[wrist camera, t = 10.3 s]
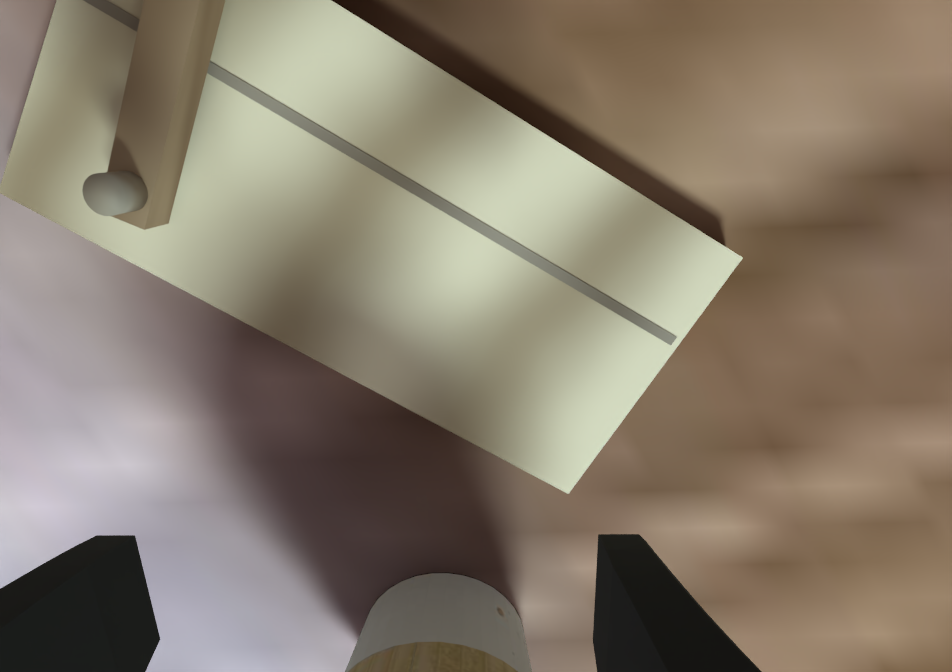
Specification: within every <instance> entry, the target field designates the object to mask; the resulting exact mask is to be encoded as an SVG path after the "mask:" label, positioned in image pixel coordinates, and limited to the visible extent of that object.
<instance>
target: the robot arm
mask: <svg viewBox="0 0 952 672" xmlns="http://www.w3.org/2000/svg"><path fill="white" fill-rule="evenodd" d="M159 640H160V637H159V633H158V629H157V624H156V620H155V616H154V612H153V608H152V604H151V600H150V596H149V592H148V588H147V583H146V579H145V575H144V571H143V567H142V563H141V559H140V555H139V551H138V547H137V542H136V538H135V536H95V537H93V538H91V539H89V540H87V541H85V542H83V543H81V544H79V545H77V546H75V547H73V548H71V549H69V550H68V551H66V552H64V553H62V554H60V555H58V556H57V557H55V558H53V559H51V560H50V561H48V562H46V563H44V564H42V565H41V566H39V567H37V568H35V569H34V570H32V571H30V572H29V573H27V574H25V575H23V576H22V577H20V578H18V579H16V580H15V581H13V582H11V583H10V584H8V585H6V586H4V587H3V588H1V589H0V672H145V671H146V669H147V667H148V664H149V662H150V660H151V658H152V656H153V653H154V651H155V649H156V647H157V645H158V642H159ZM593 644H594V651H595V658H596V665H597V672H761V671H760V670H759V669H758V668H757V667H756V665H755V664H754V663H753V662H752V661H751V660H750V659H749V658H748V657H747V656H746V655H745V654H744V653H743V652H742V651H741V650H740V649H739V648H738V647H737V646H736V644H735V643H734V642H733V641H732V640H731V639H730V638H729V637H728V636H727V635H726V634H725V633H724V631H723V630H722V629H721V628H720V627H719V626H718V625H717V624H716V623H715V622H714V621H713V620H712V618H711V617H710V616H709V615H708V614H707V613H706V612H705V611H704V610H703V608H702V607H701V606H700V605H699V604H698V603H697V602H696V601H695V599H694V598H693V597H692V596H691V595H690V594H689V592H688V591H687V590H686V589H685V588H684V587H683V585H682V584H681V583H680V582H679V581H678V580H677V578H676V577H675V576H674V575H673V574H672V572H671V571H670V570H669V569H668V568H667V566H666V565H665V564H664V563H663V562H662V560H661V559H660V558H659V557H658V556H657V554H656V553H655V552H654V551H653V550H652V548H651V547H650V546H649V545H648V543H647V542H646V541H645V540H644V539H643V538H642V537H641V536H640V535H639V534H610V535H598V554H597V573H596V592H595V611H594V630H593Z"/></svg>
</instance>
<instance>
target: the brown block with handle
mask: <svg viewBox="0 0 952 672" xmlns="http://www.w3.org/2000/svg"><path fill="white" fill-rule="evenodd" d="M224 4H225V0H144V2H143V7H142V12H141V16H140V21H139V26H138V30H137V35H136V40H135V44H134V49H133V54H132V58H131V63H130V68H129V72H128V77H127V82H126V86H125V91H124V96H123V100H122V105H121V110H120V114H119V119H118V124H117V128H116V133H115V138H114V142H113V147H112V152H111V156H110V161H109V166H108V170H107V172H105V173H95V174H92V175H90V176H89V177H88V178H87V179H86V180H85V182H84V184H83V189H82V192H83V197H84V200H85V202H86V204H87V205H88V206H89V207H90V208H91V209H92V210H93V211H94V212H96V213H97V214H99V215H103V216H112V217H114V218H117V219H119V220H121V221H124V222H126V223H129V224H131V225H134V226H136V227H139V228H141V229H143V230H146V229H150V228H153V227H157V226H161V225H165V224H169V220H170V216H171V212H172V208H173V204H174V200H175V197H176V193H177V189H178V185H179V181H180V177H181V173H182V169H183V165H184V161H185V157H186V153H187V149H188V145H189V142H190V138H191V134H192V130H193V126H194V122H195V118H196V114H197V110H198V106H199V102H200V98H201V94H202V90H203V87H204V83H205V79H206V75H207V71H208V67H209V63H210V59H211V55H212V51H213V47H214V43H215V39H216V35H217V31H218V28H219V24H220V20H221V16H222V12H223V8H224Z"/></svg>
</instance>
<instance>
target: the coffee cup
mask: <svg viewBox="0 0 952 672" xmlns="http://www.w3.org/2000/svg"><path fill="white" fill-rule="evenodd" d="M345 672H532V669H531V665H530V660H529V655H528V650H527V645H526V640H525V635H524V631H523V627H522V623H521V620H520V617H519V616H518V614H517V612H516V610H515V608H514V607H513V606H512V604H511V603H510V602H509V601H508V600H507V599H506V598H505V597H504V596H503V595H502V594H501V593H499V592H498V591H497V590H495V589H494V588H493V587H491V586H489V585H487V584H485V583H483V582H481V581H479V580H476V579H473V578H470V577H467V576H464V575H457V574H450V573H431V574H425V575H420V576H415V577H412V578H410V579H407V580H404V581H401V582H400V583H398V584H396V585H395V586H393V587H391V588H390V589H388V590H387V591H386V592H385V593H384V594H383V595H382V596H380V597H379V598H378V600H377V601H376V602H375V604H374V605H373V607H372V608H371V610H370V612H369V615H368V617H367V620H366V622H365V624H364V627H363V629H362V632H361V634H360V637H359V639H358V641H357V644H356V646H355V649H354V651H353V654H352V656H351V658H350V661H349V663H348V666H347V668H346V671H345Z"/></svg>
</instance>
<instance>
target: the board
mask: <svg viewBox="0 0 952 672" xmlns="http://www.w3.org/2000/svg"><path fill="white" fill-rule="evenodd" d="M143 2H144V0H57V1H56V4H55V7H54V11H53V14H52V17H51V21H50V24H49V27H48V30H47V34H46V37H45V40H44V44H43V47H42V50H41V53H40V57H39V60H38V63H37V67H36V70H35V73H34V76H33V80H32V83H31V86H30V90H29V93H28V96H27V99H26V103H25V106H24V109H23V113H22V116H21V119H20V122H19V126H18V129H17V132H16V136H15V139H14V142H13V145H12V149H11V152H10V155H9V159H8V162H7V165H6V168H5V172H4V175H3V178H2V182H1V185H0V193H1V194H2V195H4V196H6V197H8V198H10V199H12V200H14V201H16V202H18V203H19V204H21V205H23V206H25V207H27V208H29V209H31V210H33V211H35V212H36V213H38V214H40V215H42V216H44V217H46V218H48V219H50V220H52V221H53V222H55V223H57V224H59V225H61V226H63V227H65V228H67V229H69V230H70V231H72V232H74V233H76V234H78V235H80V236H82V237H84V238H86V239H87V240H89V241H91V242H93V243H95V244H97V245H99V246H101V247H103V248H104V249H106V250H108V251H110V252H112V253H114V254H116V255H118V256H120V257H121V258H123V259H125V260H127V261H129V262H131V263H133V264H135V265H137V266H138V267H140V268H142V269H144V270H146V271H148V272H150V273H152V274H154V275H156V276H157V277H159V278H161V279H163V280H165V281H167V282H169V283H171V284H173V285H174V286H176V287H178V288H180V289H182V290H184V291H186V292H188V293H190V294H191V295H193V296H195V297H197V298H199V299H201V300H203V301H205V302H207V303H208V304H210V305H212V306H214V307H216V308H218V309H220V310H222V311H224V312H225V313H227V314H229V315H231V316H233V317H235V318H237V319H239V320H241V321H242V322H244V323H246V324H248V325H250V326H252V327H254V328H256V329H258V330H259V331H261V332H263V333H265V334H267V335H269V336H271V337H273V338H275V339H276V340H278V341H280V342H282V343H284V344H286V345H288V346H290V347H292V348H293V349H295V350H297V351H299V352H301V353H303V354H305V355H307V356H309V357H310V358H312V359H314V360H316V361H318V362H320V363H322V364H324V365H326V366H327V367H329V368H331V369H333V370H335V371H337V372H339V373H341V374H343V375H344V376H346V377H348V378H350V379H352V380H354V381H356V382H358V383H360V384H362V385H363V386H365V387H367V388H369V389H371V390H373V391H375V392H377V393H379V394H380V395H382V396H384V397H386V398H388V399H390V400H392V401H394V402H396V403H397V404H399V405H401V406H403V407H405V408H407V409H409V410H411V411H413V412H414V413H416V414H418V415H420V416H422V417H424V418H426V419H428V420H430V421H431V422H433V423H435V424H437V425H439V426H441V427H443V428H445V429H447V430H448V431H450V432H452V433H454V434H456V435H458V436H460V437H462V438H464V439H465V440H467V441H469V442H471V443H473V444H475V445H477V446H479V447H481V448H482V449H484V450H486V451H488V452H490V453H492V454H494V455H496V456H498V457H499V458H501V459H503V460H505V461H507V462H509V463H511V464H513V465H515V466H516V467H518V468H520V469H522V470H524V471H526V472H528V473H530V474H532V475H533V476H535V477H537V478H539V479H541V480H543V481H545V482H547V483H549V484H550V485H552V486H554V487H556V488H558V489H560V490H562V491H564V492H566V493H568V494H569V492H570V491H571V490H572V488H573V487H574V486H575V484H576V483H577V482H578V480H579V479H580V477H581V476H582V475H583V473H584V472H585V471H586V469H587V468H588V467H589V465H590V464H591V463H592V461H593V460H594V459H595V457H596V456H597V454H598V453H599V452H600V450H601V449H602V448H603V446H604V445H605V444H606V442H607V441H608V440H609V438H610V437H611V436H612V434H613V433H614V431H615V430H616V429H617V427H618V426H619V425H620V423H621V422H622V421H623V419H624V418H625V417H626V415H627V414H628V413H629V411H630V410H631V408H632V407H633V406H634V404H635V403H636V402H637V400H638V399H639V398H640V396H641V395H642V394H643V392H644V391H645V390H646V388H647V387H648V386H649V384H650V383H651V381H652V380H653V379H654V377H655V376H656V375H657V373H658V372H659V371H660V369H661V368H662V367H663V365H664V364H665V363H666V361H667V360H668V358H669V357H670V356H671V354H672V353H673V352H674V350H675V349H676V348H677V346H678V345H679V344H680V342H681V341H682V340H683V338H684V337H685V335H686V334H687V333H688V331H689V330H690V329H691V327H692V326H693V325H694V323H695V322H696V321H697V319H698V318H699V317H700V315H701V314H702V312H703V311H704V310H705V308H706V307H707V306H708V304H709V303H710V302H711V300H712V299H713V298H714V296H715V295H716V294H717V292H718V291H719V289H720V288H721V287H722V285H723V284H724V283H725V281H726V280H727V279H728V277H729V276H730V275H731V273H732V272H733V271H734V269H735V268H736V266H737V265H738V264H739V262H740V261H741V260H742V257H741V256H739V255H738V254H736V253H734V252H733V251H731V250H730V249H728V248H726V247H725V246H723V245H722V244H720V243H718V242H717V241H715V240H714V239H712V238H710V237H709V236H707V235H706V234H704V233H702V232H701V231H699V230H698V229H696V228H695V227H693V226H691V225H690V224H688V223H687V222H685V221H683V220H682V219H680V218H679V217H677V216H675V215H674V214H672V213H671V212H669V211H667V210H666V209H664V208H663V207H661V206H659V205H658V204H656V203H655V202H653V201H651V200H650V199H648V198H647V197H645V196H643V195H642V194H640V193H639V192H637V191H635V190H634V189H632V188H631V187H629V186H627V185H626V184H624V183H623V182H621V181H619V180H618V179H616V178H615V177H613V176H611V175H610V174H608V173H607V172H605V171H603V170H602V169H600V168H599V167H597V166H595V165H594V164H592V163H591V162H589V161H587V160H586V159H584V158H583V157H581V156H579V155H578V154H576V153H575V152H573V151H571V150H570V149H568V148H567V147H565V146H563V145H562V144H560V143H559V142H557V141H555V140H554V139H552V138H551V137H549V136H547V135H546V134H544V133H543V132H541V131H539V130H538V129H536V128H535V127H533V126H531V125H530V124H528V123H527V122H525V121H523V120H522V119H520V118H519V117H517V116H515V115H514V114H512V113H511V112H509V111H507V110H506V109H504V108H503V107H501V106H499V105H498V104H496V103H495V102H493V101H491V100H490V99H488V98H487V97H485V96H483V95H482V94H480V93H479V92H477V91H476V90H474V89H472V88H471V87H469V86H468V85H466V84H464V83H463V82H461V81H460V80H458V79H456V78H455V77H453V76H452V75H450V74H448V73H447V72H445V71H444V70H442V69H440V68H439V67H437V66H436V65H434V64H432V63H431V62H429V61H428V60H426V59H424V58H423V57H421V56H420V55H418V54H416V53H415V52H413V51H412V50H410V49H408V48H407V47H405V46H404V45H402V44H400V43H399V42H397V41H396V40H394V39H392V38H391V37H389V36H388V35H386V34H384V33H383V32H381V31H380V30H378V29H376V28H375V27H373V26H372V25H370V24H368V23H367V22H365V21H364V20H362V19H360V18H359V17H357V16H356V15H354V14H352V13H351V12H349V11H348V10H346V9H344V8H343V7H341V6H340V5H338V4H336V3H335V2H333V1H332V0H225V4H224V8H223V12H222V16H221V20H220V24H219V28H218V31H217V35H216V39H215V43H214V47H213V51H212V55H211V59H210V63H209V67H208V71H207V75H206V79H205V83H204V87H203V90H202V94H201V98H200V102H199V106H198V110H197V114H196V118H195V122H194V126H193V130H192V134H191V138H190V142H189V145H188V149H187V153H186V157H185V161H184V165H183V169H182V173H181V177H180V181H179V185H178V189H177V193H176V197H175V200H174V204H173V208H172V212H171V216H170V220H169V224H165V225H161V226H157V227H153V228H150V229H146V230H143V229H141V228H139V227H136V226H134V225H131V224H129V223H126V222H124V221H121V220H119V219H117V218H114V217H112V216H103V215H99V214H97V213H96V212H94V211H93V210H92V209H91V208H90V207H89V206H88V205H87V204H86V202H85V200H84V197H83V192H82V189H83V184H84V182H85V180H86V179H87V178H88V177H89V176H90V175H92V174H95V173H105V172H107V170H108V166H109V161H110V156H111V152H112V147H113V142H114V138H115V133H116V128H117V124H118V119H119V114H120V110H121V105H122V100H123V96H124V91H125V86H126V82H127V77H128V72H129V68H130V63H131V58H132V54H133V49H134V44H135V40H136V35H137V30H138V26H139V21H140V16H141V12H142V7H143Z"/></svg>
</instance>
